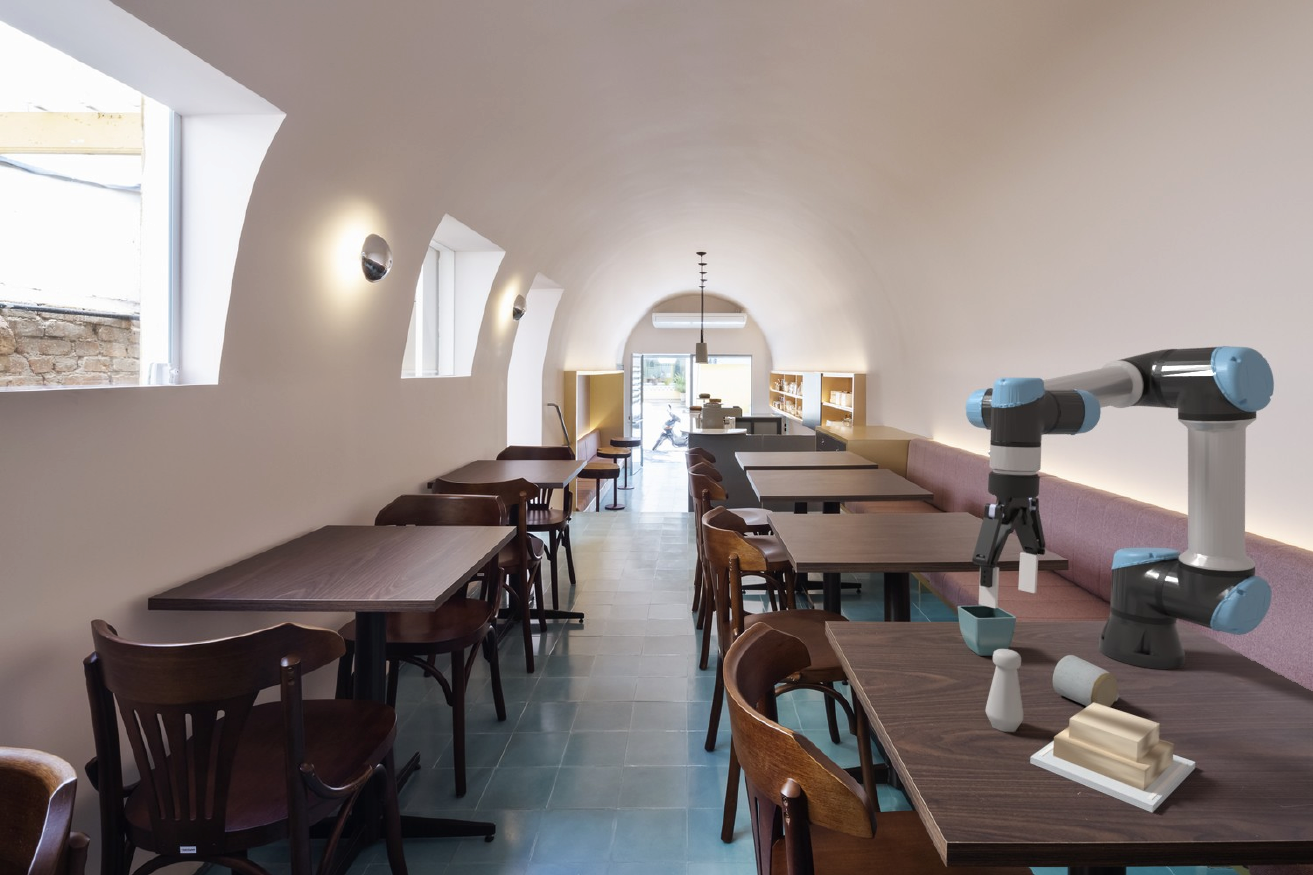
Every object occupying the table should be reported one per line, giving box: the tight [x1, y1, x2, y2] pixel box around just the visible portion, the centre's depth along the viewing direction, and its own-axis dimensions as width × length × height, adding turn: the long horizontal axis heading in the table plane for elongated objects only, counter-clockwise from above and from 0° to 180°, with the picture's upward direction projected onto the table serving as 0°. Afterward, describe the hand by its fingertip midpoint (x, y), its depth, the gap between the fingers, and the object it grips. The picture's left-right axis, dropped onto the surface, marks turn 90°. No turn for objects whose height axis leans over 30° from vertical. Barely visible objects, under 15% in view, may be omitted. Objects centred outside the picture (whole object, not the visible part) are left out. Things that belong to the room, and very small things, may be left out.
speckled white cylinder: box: [1052, 654, 1120, 708], centre depth 130 cm, size 11×8×8 cm
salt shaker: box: [985, 648, 1025, 733], centre depth 120 cm, size 6×6×13 cm
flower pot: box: [957, 605, 1017, 657], centre depth 153 cm, size 9×9×9 cm
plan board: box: [1029, 740, 1196, 813], centre depth 108 cm, size 18×16×1 cm
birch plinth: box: [1053, 703, 1175, 791], centre depth 108 cm, size 12×12×6 cm
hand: (1008, 598), depth 119 cm, fingers open, 13 cm apart
